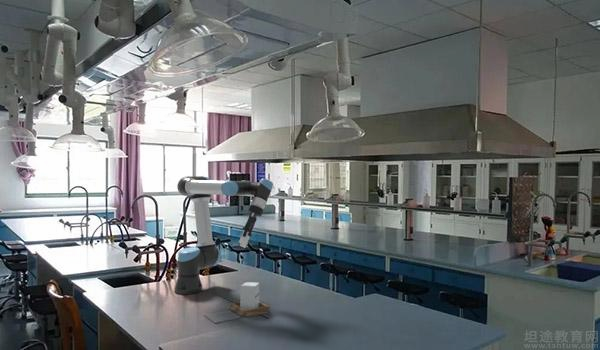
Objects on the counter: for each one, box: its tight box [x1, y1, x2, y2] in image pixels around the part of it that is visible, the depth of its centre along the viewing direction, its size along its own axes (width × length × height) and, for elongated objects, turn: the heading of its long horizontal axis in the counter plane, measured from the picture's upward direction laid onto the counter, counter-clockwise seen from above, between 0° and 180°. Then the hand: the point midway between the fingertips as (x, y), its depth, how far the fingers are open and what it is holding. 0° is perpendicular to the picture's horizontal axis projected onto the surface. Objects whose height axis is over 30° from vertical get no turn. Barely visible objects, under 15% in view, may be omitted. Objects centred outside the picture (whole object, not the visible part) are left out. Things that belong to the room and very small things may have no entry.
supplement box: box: [239, 281, 260, 310], centre depth 196 cm, size 7×7×13 cm
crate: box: [229, 301, 270, 318], centre depth 196 cm, size 15×13×3 cm
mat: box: [203, 310, 241, 324], centre depth 186 cm, size 12×12×1 cm
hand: (242, 245), depth 209 cm, fingers open, 13 cm apart
